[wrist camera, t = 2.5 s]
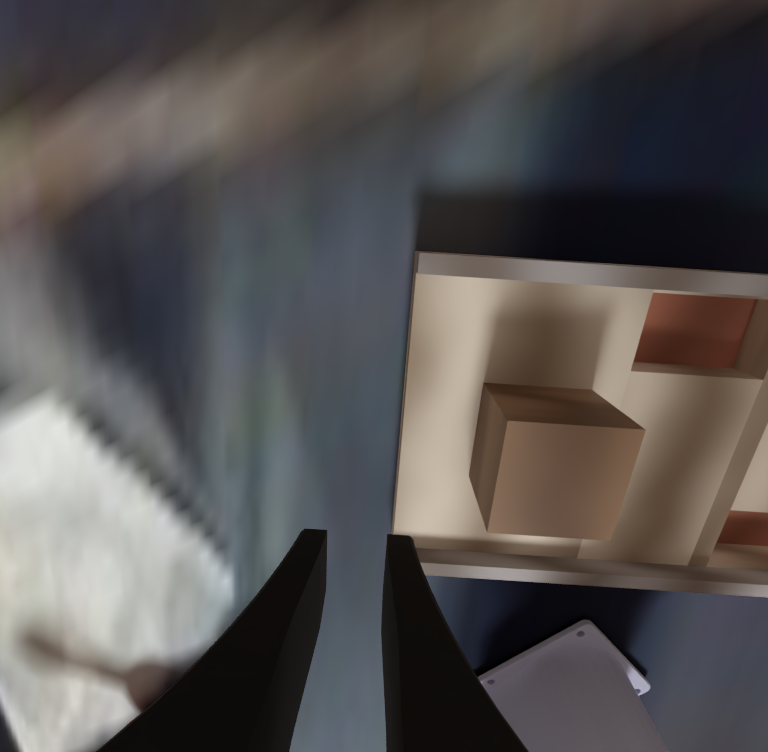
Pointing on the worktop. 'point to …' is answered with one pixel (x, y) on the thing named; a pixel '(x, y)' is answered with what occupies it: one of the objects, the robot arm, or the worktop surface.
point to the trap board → (616, 385)
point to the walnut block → (551, 461)
